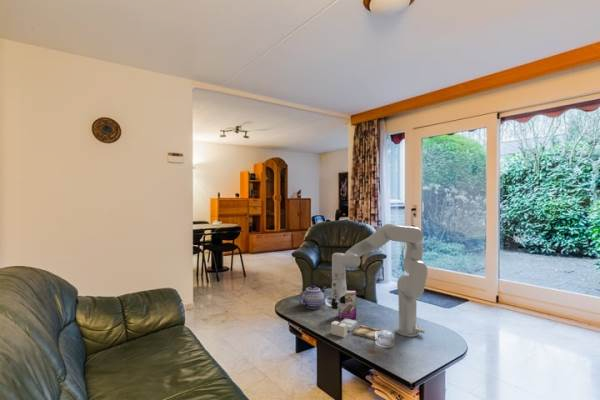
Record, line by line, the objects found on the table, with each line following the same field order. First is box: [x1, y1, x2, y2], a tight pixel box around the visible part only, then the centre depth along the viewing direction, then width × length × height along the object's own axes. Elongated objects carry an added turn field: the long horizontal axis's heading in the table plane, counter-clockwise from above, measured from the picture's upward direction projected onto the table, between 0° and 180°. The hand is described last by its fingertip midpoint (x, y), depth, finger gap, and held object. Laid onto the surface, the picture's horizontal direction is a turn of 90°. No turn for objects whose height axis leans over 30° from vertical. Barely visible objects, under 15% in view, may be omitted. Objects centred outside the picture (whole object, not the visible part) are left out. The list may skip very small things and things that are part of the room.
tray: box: [352, 324, 383, 340], centre depth 167 cm, size 13×9×2 cm
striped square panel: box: [340, 318, 359, 332], centre depth 176 cm, size 8×10×2 cm
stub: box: [330, 320, 348, 338], centre depth 167 cm, size 8×4×6 cm, turn 56°
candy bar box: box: [338, 290, 357, 320], centre depth 189 cm, size 11×5×16 cm, turn 84°
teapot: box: [297, 284, 327, 310], centre depth 208 cm, size 25×15×15 cm, turn 124°
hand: (338, 305), depth 166 cm, fingers open, 9 cm apart
